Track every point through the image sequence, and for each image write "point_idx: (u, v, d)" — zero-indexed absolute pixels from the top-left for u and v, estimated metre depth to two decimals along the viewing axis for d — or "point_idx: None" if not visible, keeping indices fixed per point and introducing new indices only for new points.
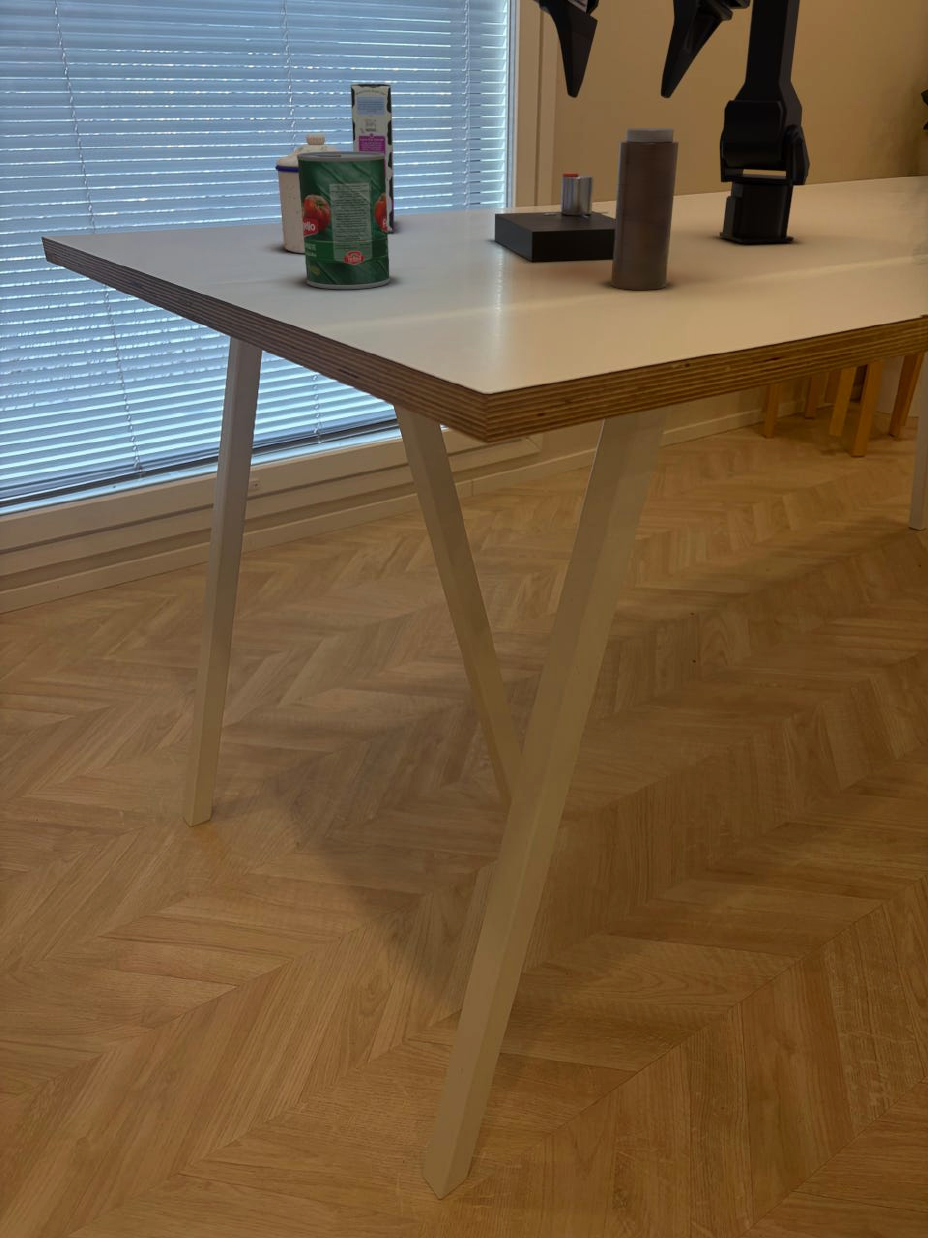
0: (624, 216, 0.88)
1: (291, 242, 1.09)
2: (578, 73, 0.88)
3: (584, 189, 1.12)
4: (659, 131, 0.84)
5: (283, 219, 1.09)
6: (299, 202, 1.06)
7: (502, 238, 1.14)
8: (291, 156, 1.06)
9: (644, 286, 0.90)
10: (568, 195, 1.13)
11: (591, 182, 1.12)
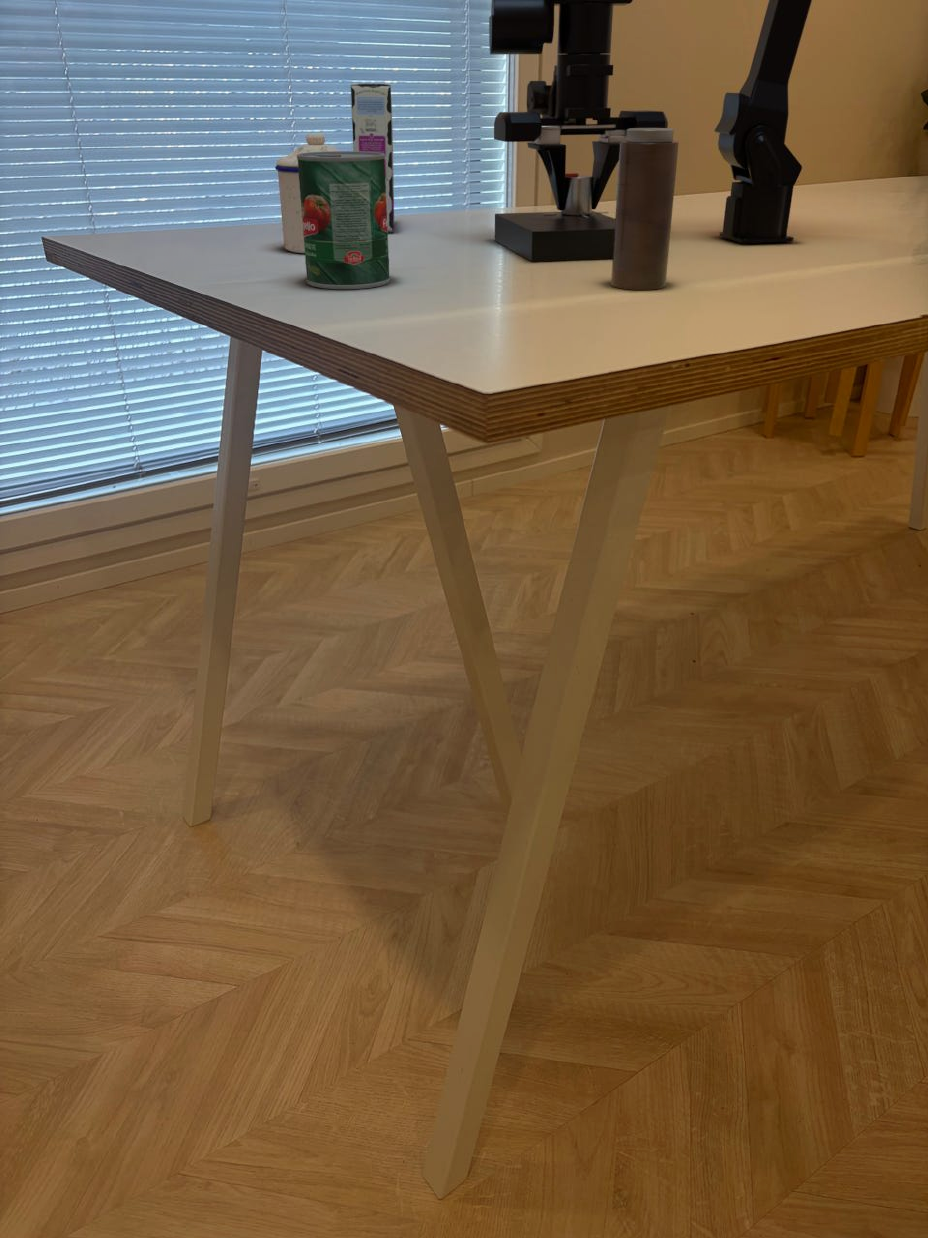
0: (624, 216, 0.88)
1: (291, 242, 1.09)
2: None
3: (584, 189, 1.12)
4: (659, 131, 0.84)
5: (283, 219, 1.09)
6: (299, 202, 1.06)
7: (502, 238, 1.14)
8: (291, 156, 1.06)
9: (644, 286, 0.90)
10: (568, 195, 1.13)
11: (591, 182, 1.12)
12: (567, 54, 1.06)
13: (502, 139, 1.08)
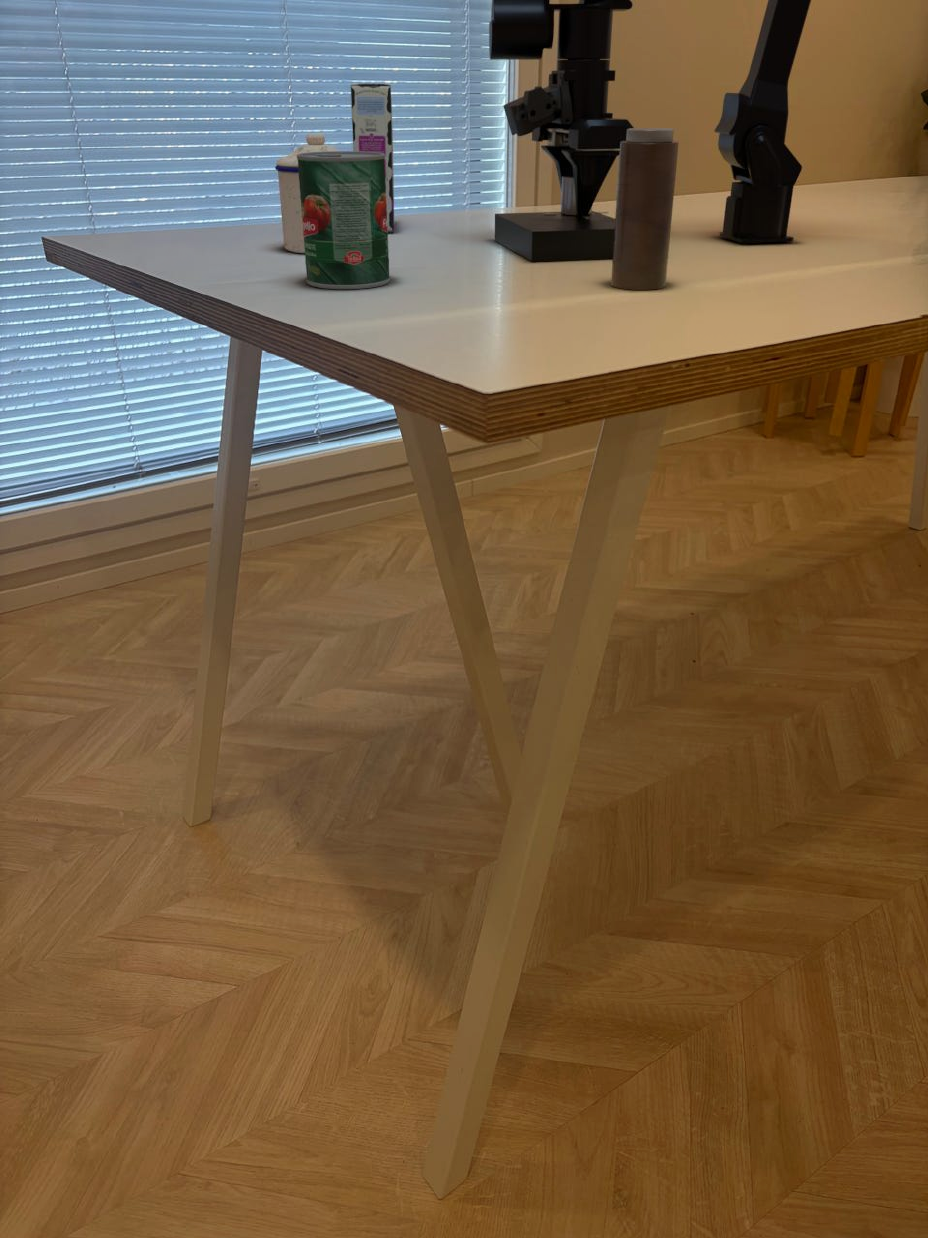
0: (624, 216, 0.88)
1: (291, 242, 1.09)
2: None
3: None
4: (659, 131, 0.84)
5: (283, 219, 1.09)
6: (299, 202, 1.06)
7: (502, 238, 1.14)
8: (291, 156, 1.06)
9: (644, 286, 0.90)
10: None
11: None
12: None
13: None
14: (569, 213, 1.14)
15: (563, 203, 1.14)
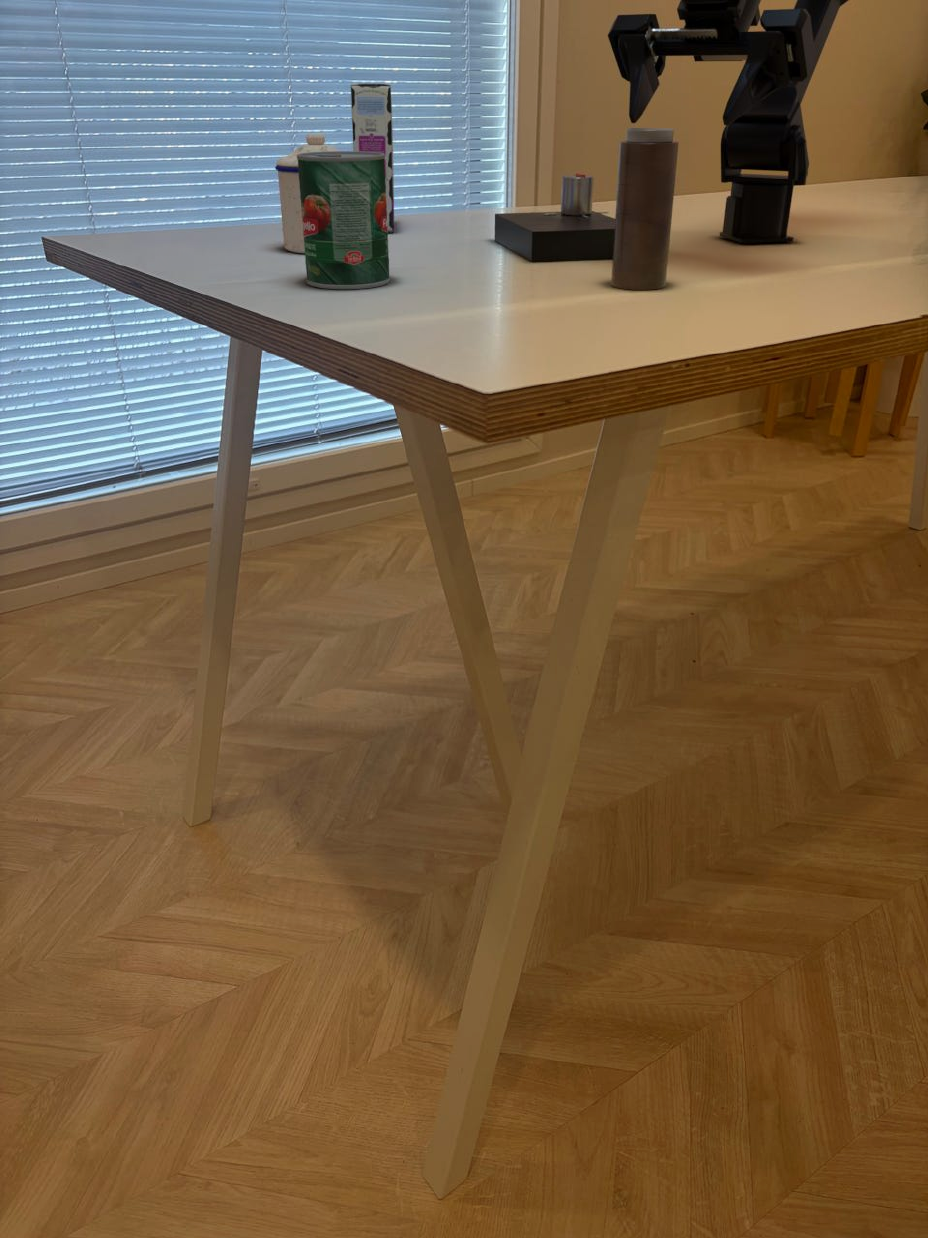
0: (624, 216, 0.88)
1: (291, 242, 1.09)
2: (640, 104, 0.94)
3: None
4: (659, 131, 0.84)
5: (283, 219, 1.09)
6: (299, 202, 1.06)
7: (502, 238, 1.14)
8: (291, 156, 1.06)
9: (644, 286, 0.90)
10: (590, 195, 1.13)
11: None
12: None
13: (806, 65, 0.89)
14: (569, 213, 1.14)
15: (563, 203, 1.14)
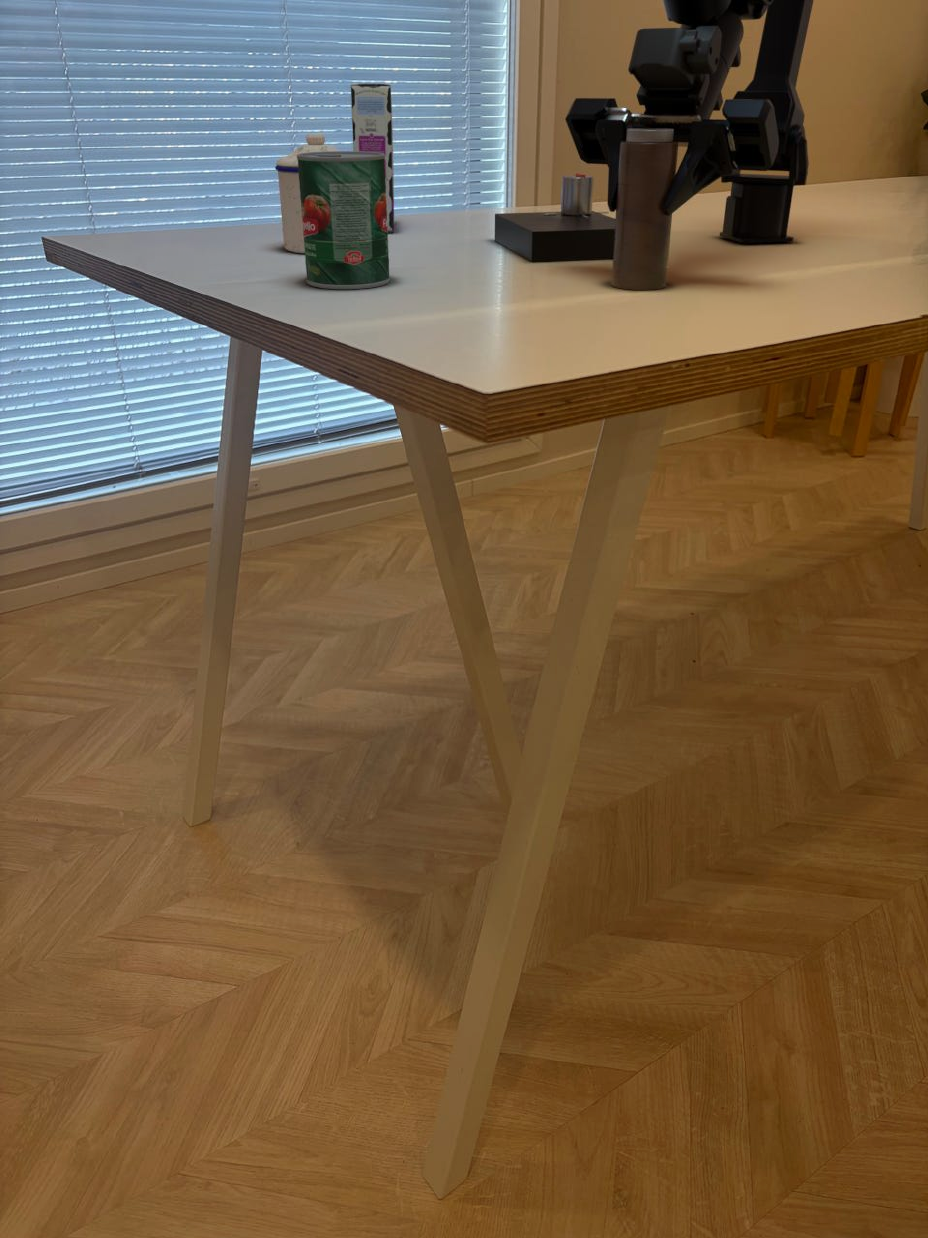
0: (624, 216, 0.88)
1: (291, 242, 1.09)
2: None
3: None
4: (659, 131, 0.84)
5: (283, 219, 1.09)
6: (299, 202, 1.06)
7: (502, 238, 1.14)
8: (291, 156, 1.06)
9: (644, 286, 0.90)
10: (590, 195, 1.13)
11: None
12: None
13: (770, 155, 0.86)
14: (569, 213, 1.14)
15: (563, 203, 1.14)
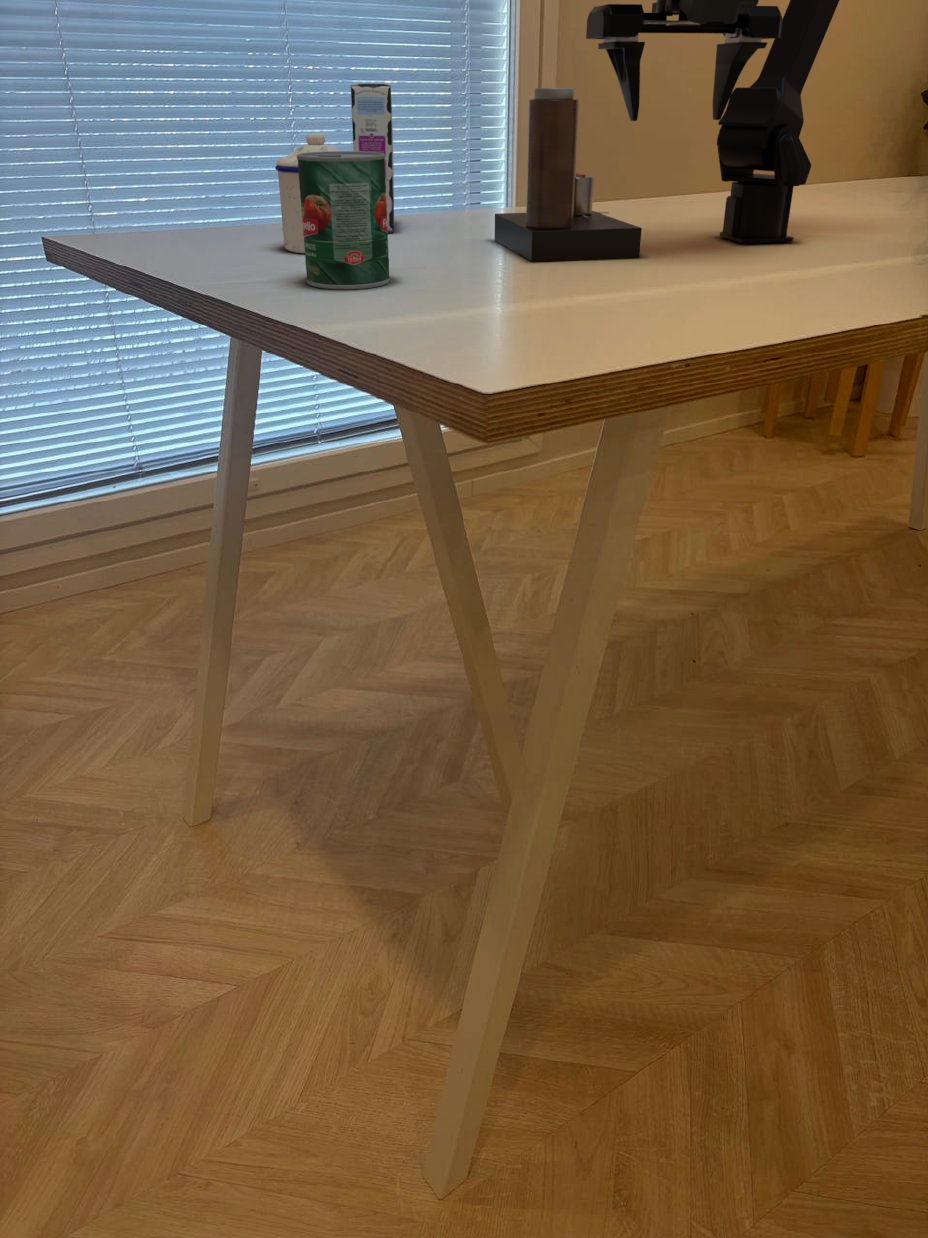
0: (528, 163, 1.03)
1: (291, 242, 1.09)
2: None
3: None
4: (551, 89, 0.98)
5: (283, 219, 1.09)
6: (299, 202, 1.06)
7: (502, 238, 1.14)
8: (291, 156, 1.06)
9: (542, 225, 1.04)
10: (590, 195, 1.13)
11: None
12: None
13: None
14: None
15: None
